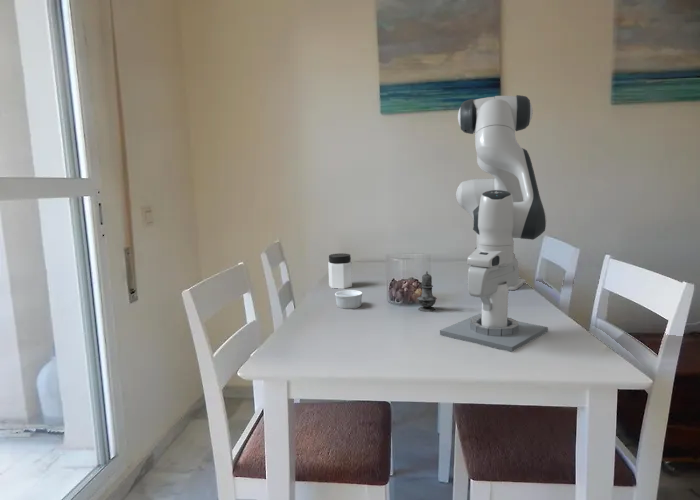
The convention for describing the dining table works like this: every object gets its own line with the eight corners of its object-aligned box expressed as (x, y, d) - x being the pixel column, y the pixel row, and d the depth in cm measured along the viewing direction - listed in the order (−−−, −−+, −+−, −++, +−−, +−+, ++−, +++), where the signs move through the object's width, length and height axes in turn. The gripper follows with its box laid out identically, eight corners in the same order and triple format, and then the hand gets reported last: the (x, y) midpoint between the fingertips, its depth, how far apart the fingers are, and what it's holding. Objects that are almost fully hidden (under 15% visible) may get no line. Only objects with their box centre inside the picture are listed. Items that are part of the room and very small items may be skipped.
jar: (354, 287, 188) (353, 256, 186) (333, 289, 186) (332, 257, 184) (347, 283, 197) (346, 252, 195) (327, 284, 194) (326, 254, 192)
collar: (484, 319, 140) (485, 313, 140) (526, 327, 132) (526, 321, 132) (461, 329, 132) (461, 322, 132) (504, 339, 124) (504, 332, 123)
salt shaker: (436, 312, 153) (436, 273, 151) (416, 311, 154) (416, 273, 152) (436, 307, 159) (436, 269, 157) (418, 306, 160) (417, 269, 158)
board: (479, 317, 146) (479, 313, 146) (547, 331, 132) (547, 327, 132) (439, 334, 132) (439, 330, 132) (511, 352, 118) (511, 347, 118)
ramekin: (330, 307, 161) (329, 294, 161) (343, 301, 169) (342, 288, 168) (355, 310, 157) (354, 297, 157) (367, 304, 165) (367, 291, 164)
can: (476, 324, 134) (477, 280, 132) (496, 320, 137) (498, 277, 134) (491, 331, 129) (492, 286, 126) (512, 328, 131) (514, 283, 129)
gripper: (503, 248, 139) (502, 297, 141) (463, 259, 124) (462, 313, 126) (525, 250, 134) (524, 301, 136) (486, 261, 120) (485, 318, 122)
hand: (494, 307), depth 131 cm, fingers closed on can, 6 cm apart
